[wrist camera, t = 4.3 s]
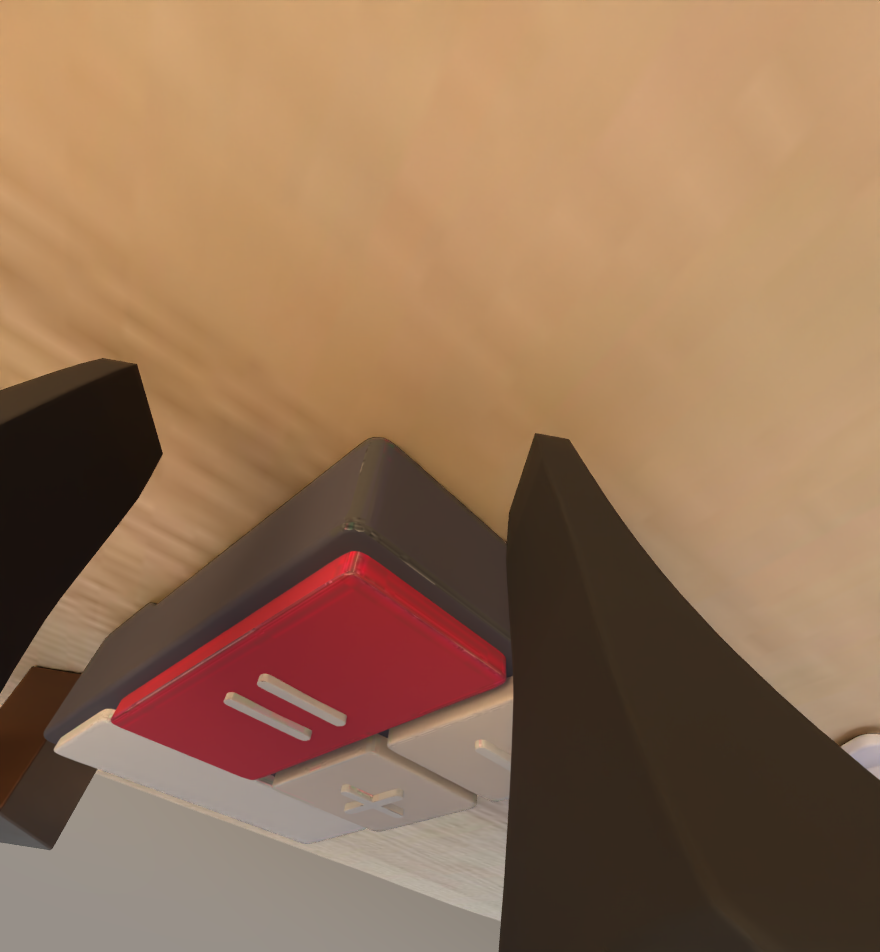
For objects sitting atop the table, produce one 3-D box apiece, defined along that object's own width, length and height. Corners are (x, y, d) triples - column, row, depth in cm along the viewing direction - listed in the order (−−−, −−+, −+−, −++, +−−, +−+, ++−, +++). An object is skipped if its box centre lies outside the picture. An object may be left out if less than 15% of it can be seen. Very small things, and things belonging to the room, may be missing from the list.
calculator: (665, 779, 13) (306, 863, 20) (627, 634, 16) (331, 749, 23) (343, 549, 8) (17, 764, 15) (383, 411, 12) (101, 638, 18)
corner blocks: (654, 766, 21) (686, 921, 18) (611, 803, 25) (630, 941, 21) (32, 665, 21) (-73, 802, 17) (73, 716, 24) (-7, 841, 20)
